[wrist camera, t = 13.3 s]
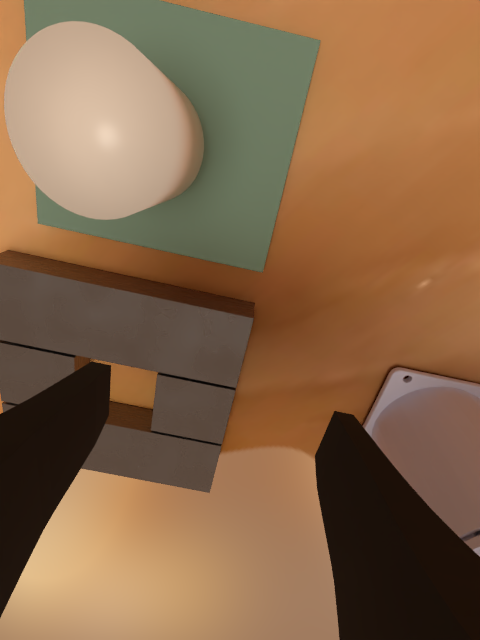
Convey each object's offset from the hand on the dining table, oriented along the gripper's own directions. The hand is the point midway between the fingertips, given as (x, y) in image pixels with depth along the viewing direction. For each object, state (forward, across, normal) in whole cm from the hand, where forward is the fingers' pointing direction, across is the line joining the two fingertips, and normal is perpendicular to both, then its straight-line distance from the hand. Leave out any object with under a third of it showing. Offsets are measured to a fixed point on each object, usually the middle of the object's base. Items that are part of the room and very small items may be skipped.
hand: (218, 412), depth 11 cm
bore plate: (+9, +6, +7) cm, 13 cm away
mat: (+9, +5, -7) cm, 13 cm away
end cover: (+9, +5, -7) cm, 12 cm away
